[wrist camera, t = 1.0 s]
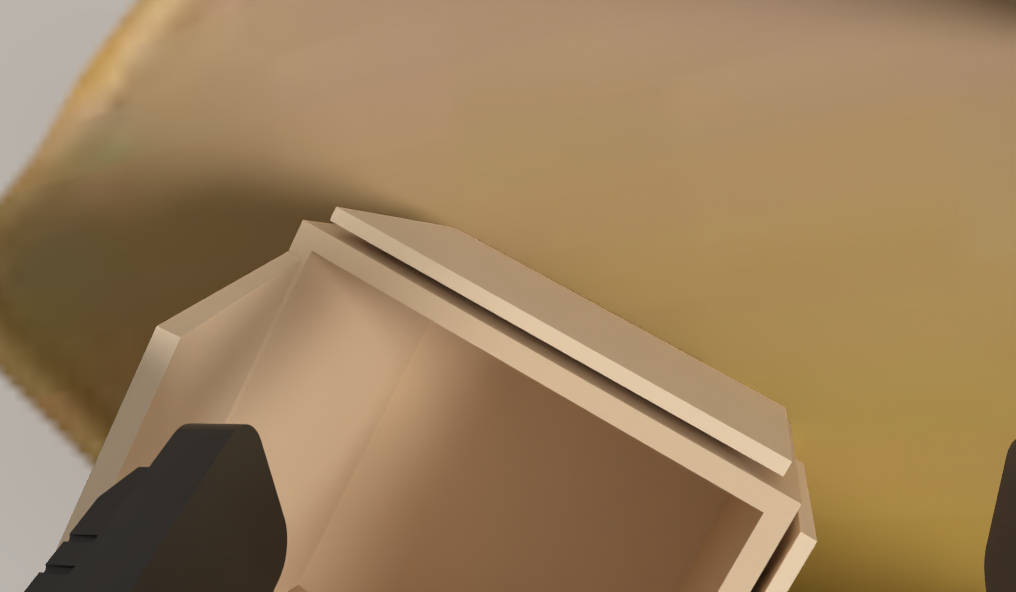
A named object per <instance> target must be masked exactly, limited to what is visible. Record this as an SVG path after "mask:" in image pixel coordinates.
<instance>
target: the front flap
mask: <svg viewBox="0 0 1016 592" xmlns="http://www.w3.org/2000/svg"><path fill="white" fill-rule="evenodd" d="M301 260H302V258H301V257H299V256H297V255H295V254H293V253H290V252H286V253H284V254H282V255H281V256H279V257H277V258H275V259H274V260H272V261H270V262H268V263H266V264H265V265H263V266H261V267H259V268H258V269H256V270H254V271H252V272H251V273H249V274H247V275H245V276H244V277H242V278H240V279H238V280H237V281H235V282H233V283H231V284H230V285H228V286H226V287H224V288H223V289H221V290H219V291H217V292H216V293H214V294H212V295H210V296H208V297H207V298H205V299H203V300H201V301H200V302H198V303H196V304H194V305H193V306H191V307H189V308H187V309H186V310H184V311H182V312H180V313H179V314H177V315H175V316H173V317H172V318H170V319H168V320H166V321H165V322H163V323H161V324H159V325H158V326H156V328H155V331H154V333H153V335H152V337H151V340H150V342H149V344H148V346H147V349H146V351H145V353H144V355H143V358H142V360H141V362H140V364H139V366H138V369H137V371H136V373H135V375H134V378H133V380H132V382H131V384H130V387H129V389H128V391H127V393H126V396H125V398H124V400H123V402H122V404H121V407H120V409H119V411H118V413H117V416H116V418H115V420H114V422H113V425H112V427H111V429H110V431H109V434H108V436H107V438H106V440H105V442H104V445H103V447H102V449H101V451H100V454H99V456H98V458H97V460H96V463H95V465H94V467H93V469H92V472H91V474H90V476H89V478H88V480H87V483H86V485H85V487H84V489H83V492H82V494H81V496H80V498H79V501H78V503H77V505H76V507H75V510H74V512H73V514H72V516H71V519H70V521H69V523H68V525H67V528H66V530H65V532H64V534H63V537H62V539H61V541H60V543H59V545H58V548H59V547H60V545H61V544H62V543H63V541H67V542H68V541H69V538H70V535H69V534H70V532H71V531H72V530H73V529H74V527H75V526H76V525H77V524H78V522H79V521H80V520H81V518H82V517H83V516H84V515H85V513H86V512H87V511H88V509H89V508H90V507H91V506H92V504H93V503H94V502H95V500H96V499H97V498H98V497H99V496H101V495H102V494H103V493H104V492H106V491H107V490H108V489H110V488H111V487H112V486H114V485H115V484H116V483H118V482H119V481H120V480H122V479H123V478H124V477H126V476H127V475H128V474H130V473H131V472H132V471H134V470H135V469H136V468H138V467H149V466H150V465H151V463H152V462H153V461H154V459H155V458H156V457H157V455H158V454H159V453H160V451H161V450H162V449H163V447H164V446H165V445H166V443H167V442H168V441H169V439H170V438H171V436H172V435H173V434H174V433H175V431H176V430H177V429H178V428H179V427H181V426H182V425H184V424H188V423H207V424H225V422H226V420H227V418H228V416H229V414H230V412H231V409H232V407H233V405H234V403H235V401H236V399H237V397H238V394H239V392H240V390H241V388H242V386H243V384H244V382H245V380H246V377H247V375H248V373H249V371H250V369H251V367H252V365H253V362H254V360H255V358H256V356H257V354H258V352H259V350H260V347H261V345H262V343H263V341H264V339H265V337H266V335H267V333H268V330H269V328H270V326H271V324H272V322H273V320H274V318H275V315H276V313H277V311H278V309H279V307H280V305H281V303H282V301H283V298H284V296H285V294H286V292H287V290H288V288H289V286H290V283H291V281H292V279H293V277H294V275H295V273H296V271H297V269H298V266H299V264H300V262H301ZM58 548H57V549H58Z"/></svg>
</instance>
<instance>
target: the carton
mask: <svg viewBox="0 0 1016 592" xmlns="http://www.w3.org/2000/svg"><path fill="white" fill-rule="evenodd" d="M330 221H332V222H334V223H335V224H331V223H324V222H316V221H309V220H302V223H301V225H300V227H299V229H298V231H297V233H296V235H295V238H294V240H293V242H292V244H291V246H290V248H289V251H288V252H290V253H293V254H295V255H297V256H299V257H301V258H302V260H301V262H300V264H299V266H298V269H297V271H296V273H295V275H294V277H293V279H292V281H291V283H290V286H289V288H288V290H287V292H286V294H285V296H284V298H283V301H282V303H281V305H280V307H279V309H278V311H277V313H276V315H275V318H274V320H273V322H272V324H271V326H270V328H269V330H268V333H267V335H266V337H265V339H264V341H263V343H262V345H261V347H260V350H259V352H258V354H257V356H256V358H255V360H254V362H253V365H252V367H251V369H250V371H249V373H248V375H247V377H246V380H245V382H244V384H243V386H242V388H241V390H240V392H239V394H238V397H237V399H236V401H235V403H234V405H233V407H232V409H231V412H230V414H229V416H228V418H227V420H226V422H225V424H248V425H251V426H253V427H254V428H255V429H256V431H257V432H258V434H259V436H260V439H261V441H262V445H263V448H264V451H265V455H266V458H267V461H268V465H269V468H270V471H271V475H272V478H273V481H274V485H275V488H276V491H277V495H278V498H279V501H280V505H281V508H282V511H283V515H284V518H285V522H286V527H287V553H286V559H285V563H284V568H283V571H282V574H281V576H280V579H279V581H278V583H277V585H276V587H275V589H274V591H273V592H787V591H788V590H789V588H790V586H791V585H792V583H793V581H794V580H795V578H796V576H797V575H798V573H799V571H800V570H801V568H802V566H803V565H804V563H805V561H806V559H807V558H808V556H809V554H810V553H811V551H812V549H813V548H814V546H815V544H816V543H817V537H816V532H815V526H814V520H813V515H812V509H811V503H810V497H809V492H808V486H807V480H806V475H805V469H804V463H802V462H800V461H798V460H796V458H795V450H794V443H793V436H792V428H791V423H790V422H788V420H787V411H786V408H785V407H783V406H782V405H780V404H778V403H776V402H774V401H772V400H771V399H769V398H767V397H765V396H763V395H761V394H760V393H758V392H756V391H754V390H752V389H750V388H749V387H747V386H745V385H743V384H741V383H739V382H738V381H736V380H734V379H732V378H730V377H728V376H726V375H725V374H723V373H721V372H719V371H717V370H715V369H714V368H712V367H710V366H708V365H706V364H704V363H703V362H701V361H699V360H697V359H695V358H693V357H692V356H690V355H688V354H686V353H684V352H682V351H681V350H679V349H677V348H675V347H673V346H671V345H670V344H668V343H666V342H664V341H662V340H660V339H659V338H657V337H655V336H653V335H651V334H649V333H648V332H646V331H644V330H642V329H640V328H638V327H636V326H635V325H633V324H631V323H629V322H627V321H625V320H624V319H622V318H620V317H618V316H616V315H614V314H613V313H611V312H609V311H607V310H605V309H603V308H602V307H600V306H598V305H596V304H594V303H592V302H591V301H589V300H587V299H585V298H583V297H581V296H580V295H578V294H576V293H574V292H572V291H570V290H569V289H567V288H565V287H563V286H561V285H559V284H557V283H556V282H554V281H552V280H550V279H548V278H546V277H545V276H543V275H541V274H539V273H537V272H535V271H534V270H532V269H530V268H528V267H526V266H524V265H523V264H521V263H519V262H517V261H515V260H513V259H512V258H510V257H508V256H506V255H504V254H502V253H501V252H499V251H497V250H495V249H493V248H491V247H490V246H488V245H486V244H484V243H482V242H480V241H479V240H477V239H475V238H473V237H471V236H469V235H467V234H466V233H464V232H462V231H460V230H458V229H456V228H455V227H449V226H444V225H438V224H432V223H427V222H421V221H415V220H410V219H404V218H398V217H393V216H387V215H381V214H376V213H370V212H364V211H359V210H353V209H347V208H342V207H336V208H335V210H334V212H333V214H332V217H331V219H330Z"/></svg>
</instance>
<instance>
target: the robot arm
mask: <svg viewBox="0 0 1016 592" xmlns="http://www.w3.org/2000/svg"><path fill="white" fill-rule="evenodd" d="M69 535H70V538H69V541H68V542H67V541H63V543H62V544H61V545H60V547H59V548H58V549H57V550H56V552H55V553H54V554H53V556H52V557H51V558H50V559H49V561H48V562H47V563H46V570H45V572H44V573H40V572H39V573H38V575H37V576H36V577H35V579H34V580H33V581H32V582H31V584H30V585H29V587H28V588H27V589H26V590H25V591H24V592H273V591H274V589H275V587H276V585H277V583H278V581H279V579H280V576H281V574H282V571H283V568H284V563H285V559H286V553H287V527H286V522H285V518H284V515H283V511H282V508H281V505H280V501H279V498H278V495H277V491H276V488H275V485H274V481H273V478H272V475H271V471H270V468H269V465H268V461H267V458H266V455H265V451H264V448H263V445H262V441H261V439H260V436H259V434H258V432H257V431H256V429H255V428H254V427H253V426H251V425H248V424H207V423H188V424H184V425H182V426H181V427H179V428H178V429H177V430H176V431H175V433H174V434H173V435H172V436H171V438H170V439H169V441H168V442H167V443H166V445H165V446H164V447H163V449H162V450H161V451H160V453H159V454H158V455H157V457H156V458H155V459H154V461H153V462H152V463H151V465H150V466H149V467H138V468H136V469H135V470H134V471H132V472H131V473H130V474H128V475H127V476H126V477H124V478H123V479H122V480H120V481H119V482H118V483H116V484H115V485H114V486H112V487H111V488H110V489H108V490H107V491H106V492H104V493H103V494H102V495H101V496H99V497H98V498H97V499H96V500H95V502H94V503H93V504H92V506H91V507H90V508H89V509H88V511H87V512H86V513H85V515H84V516H83V517H82V518H81V520H80V521H79V522H78V524H77V525H76V526H75V527H74V529H73V530H72V531H71V532H70V534H69ZM984 570H985V584H986V591H987V592H1016V440H1015V441H1013V443H1012V444H1011V446H1010V448H1009V450H1008V453H1007V457H1006V461H1005V465H1004V470H1003V474H1002V479H1001V483H1000V488H999V492H998V496H997V501H996V505H995V510H994V514H993V519H992V523H991V528H990V532H989V537H988V541H987V546H986V551H985V565H984Z"/></svg>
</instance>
